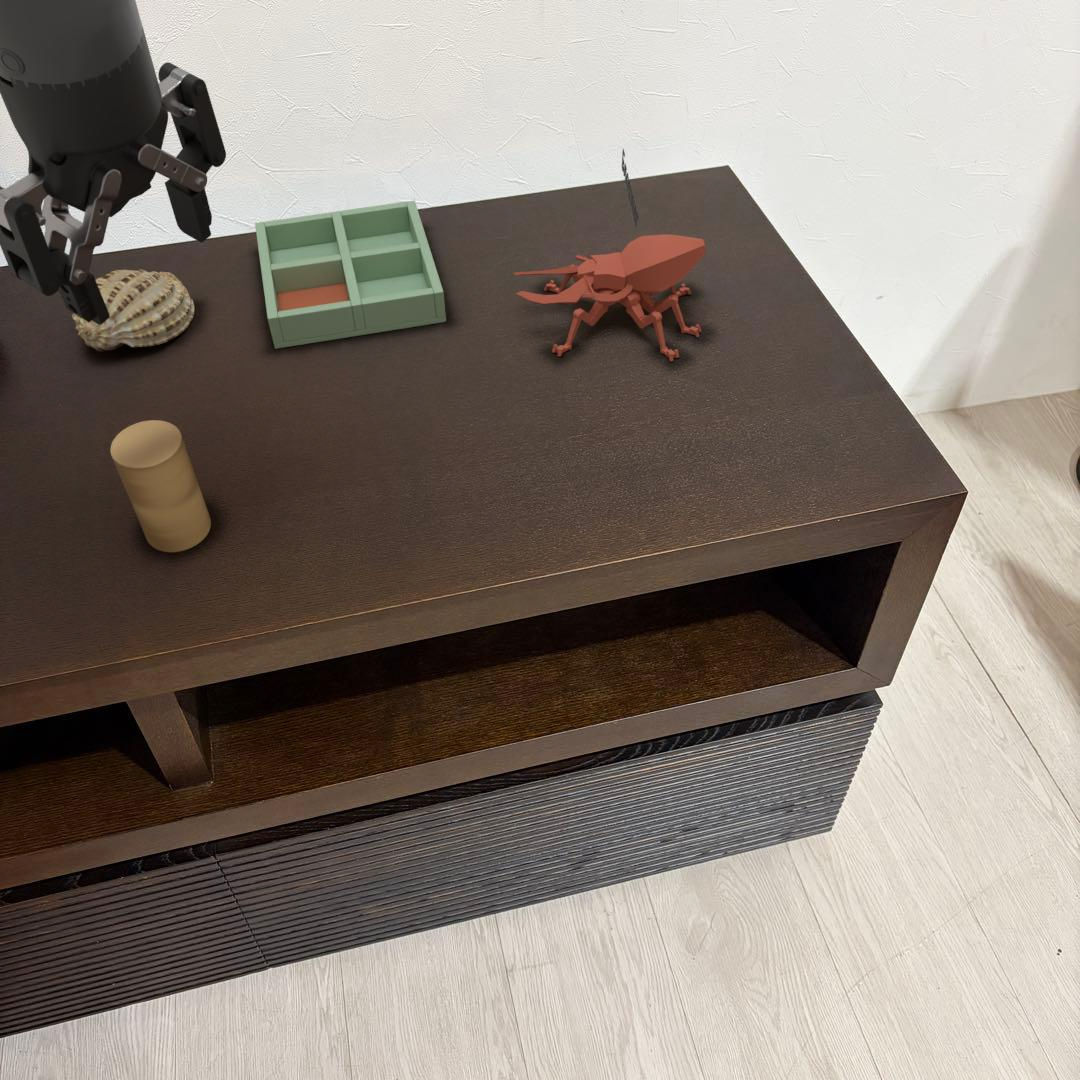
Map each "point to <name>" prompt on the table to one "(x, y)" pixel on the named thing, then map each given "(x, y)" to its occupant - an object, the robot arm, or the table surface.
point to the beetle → (627, 281)
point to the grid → (348, 274)
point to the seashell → (138, 310)
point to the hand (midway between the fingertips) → (146, 274)
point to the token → (161, 485)
